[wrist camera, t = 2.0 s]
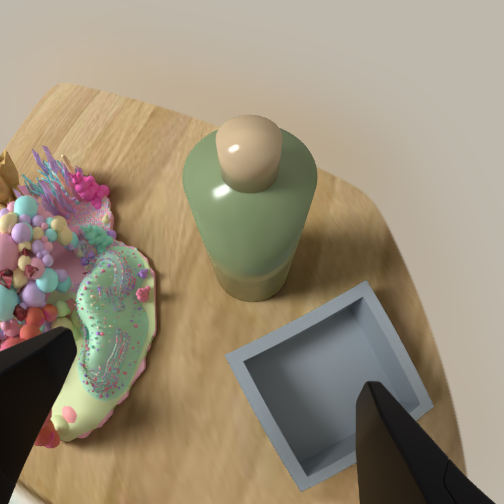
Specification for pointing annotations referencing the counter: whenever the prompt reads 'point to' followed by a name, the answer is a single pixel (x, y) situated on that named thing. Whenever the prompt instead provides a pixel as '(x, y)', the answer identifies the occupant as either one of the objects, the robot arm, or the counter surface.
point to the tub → (325, 381)
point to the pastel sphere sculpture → (74, 290)
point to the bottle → (250, 202)
